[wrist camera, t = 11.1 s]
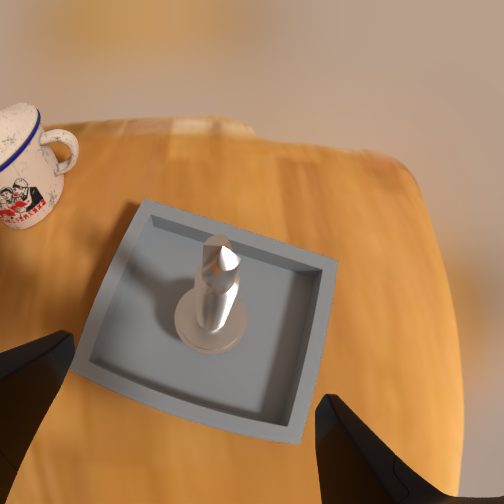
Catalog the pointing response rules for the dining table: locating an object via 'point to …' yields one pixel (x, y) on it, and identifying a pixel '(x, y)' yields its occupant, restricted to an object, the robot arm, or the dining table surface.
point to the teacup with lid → (30, 166)
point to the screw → (213, 302)
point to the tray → (200, 365)
